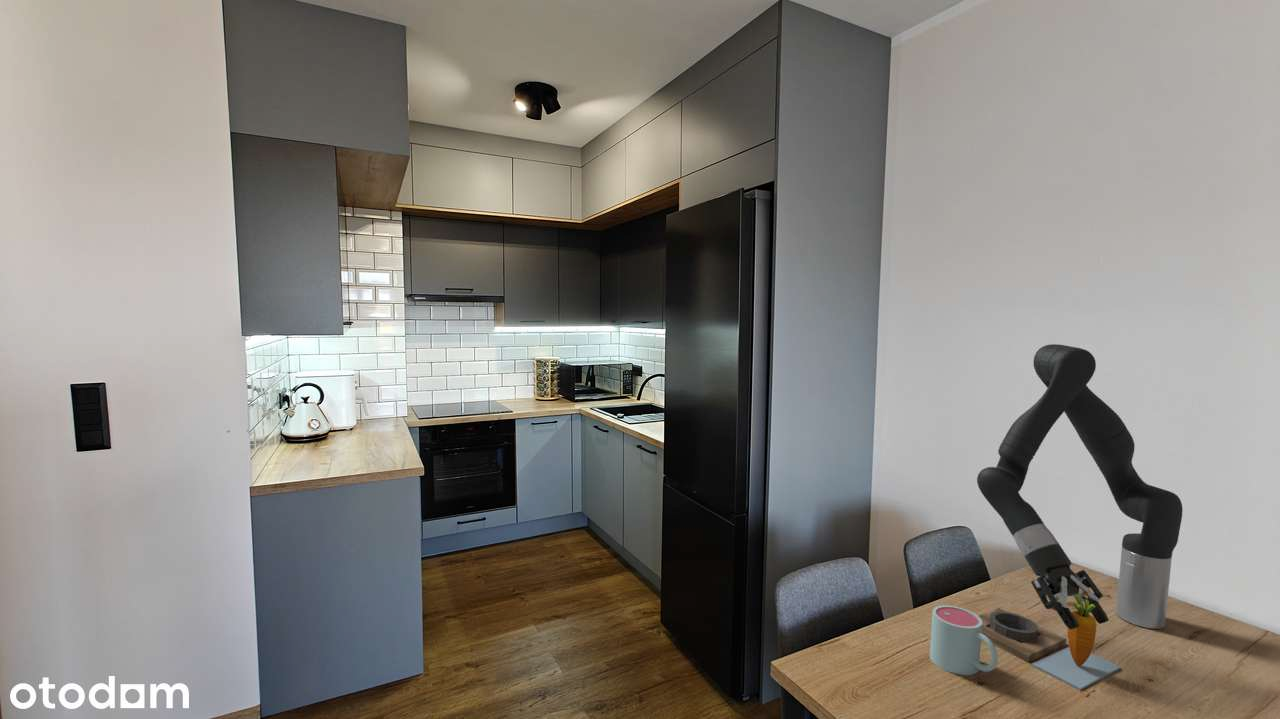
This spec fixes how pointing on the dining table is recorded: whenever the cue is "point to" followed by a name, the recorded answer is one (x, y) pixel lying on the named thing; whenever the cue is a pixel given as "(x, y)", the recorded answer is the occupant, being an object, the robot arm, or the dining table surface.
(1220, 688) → the dining table surface
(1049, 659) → the slate mat
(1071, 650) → the carrot
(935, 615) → the mug
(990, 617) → the ring stand
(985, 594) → the dining table surface
